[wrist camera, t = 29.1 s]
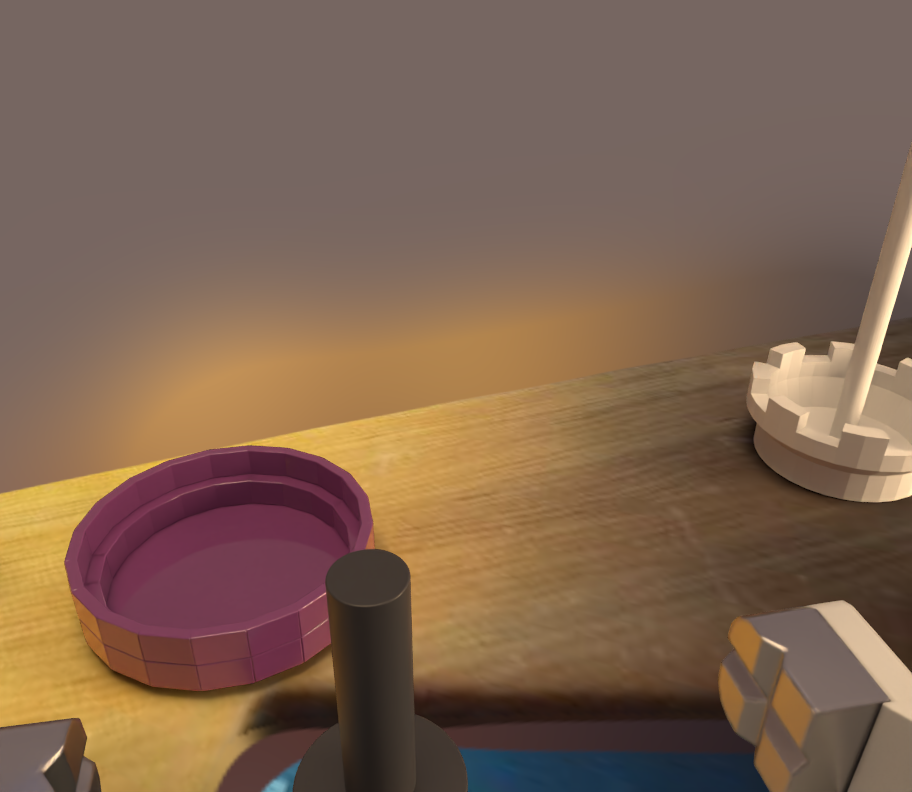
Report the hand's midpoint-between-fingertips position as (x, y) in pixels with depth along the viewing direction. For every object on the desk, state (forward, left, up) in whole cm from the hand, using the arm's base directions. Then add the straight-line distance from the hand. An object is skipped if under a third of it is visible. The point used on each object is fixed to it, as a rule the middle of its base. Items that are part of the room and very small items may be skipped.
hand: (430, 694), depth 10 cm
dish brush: (0, +12, -23) cm, 26 cm away
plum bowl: (-6, +28, -23) cm, 37 cm away
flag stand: (+34, +33, -23) cm, 53 cm away
